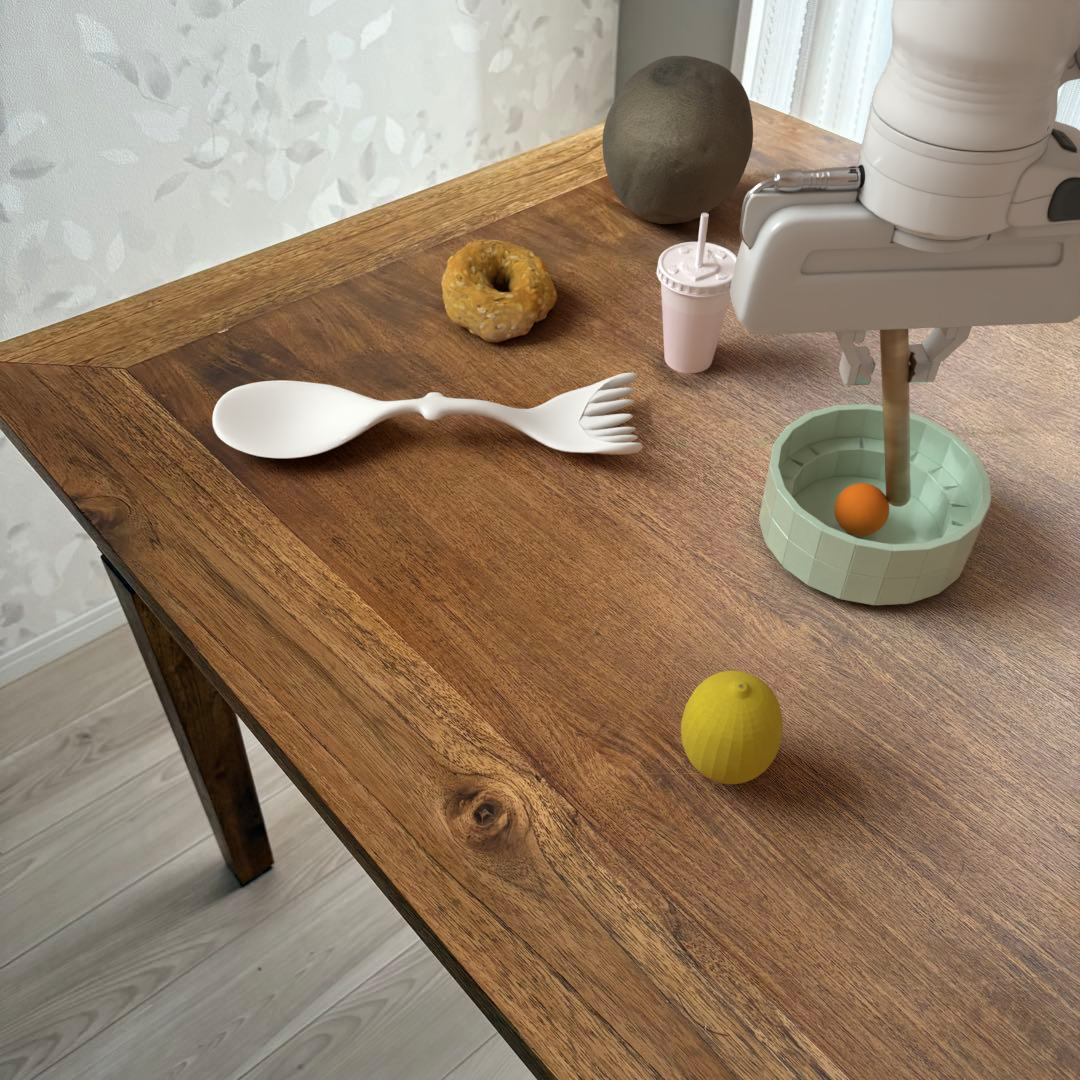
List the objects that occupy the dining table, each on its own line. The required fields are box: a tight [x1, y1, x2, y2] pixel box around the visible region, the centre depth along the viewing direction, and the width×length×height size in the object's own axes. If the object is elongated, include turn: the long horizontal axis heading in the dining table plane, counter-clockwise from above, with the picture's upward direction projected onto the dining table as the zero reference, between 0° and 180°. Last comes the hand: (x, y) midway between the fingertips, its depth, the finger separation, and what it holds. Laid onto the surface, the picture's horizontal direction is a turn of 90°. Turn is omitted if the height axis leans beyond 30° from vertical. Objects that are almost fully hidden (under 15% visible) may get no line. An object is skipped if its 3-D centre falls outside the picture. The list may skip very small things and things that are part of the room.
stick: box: [879, 329, 911, 507], centre depth 68 cm, size 2×2×20 cm
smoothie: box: [656, 213, 738, 374], centre depth 86 cm, size 6×6×14 cm
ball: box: [834, 483, 889, 536], centre depth 76 cm, size 4×4×4 cm
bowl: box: [758, 403, 992, 606], centre depth 75 cm, size 14×14×6 cm
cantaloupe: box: [601, 55, 754, 225], centre depth 102 cm, size 14×14×15 cm
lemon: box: [680, 670, 784, 785], centre depth 62 cm, size 6×6×8 cm
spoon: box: [211, 372, 644, 460], centre depth 84 cm, size 9×32×4 cm, turn 89°
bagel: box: [440, 238, 558, 343], centre depth 95 cm, size 10×11×5 cm
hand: (885, 378), depth 68 cm, fingers closed on stick, 2 cm apart
